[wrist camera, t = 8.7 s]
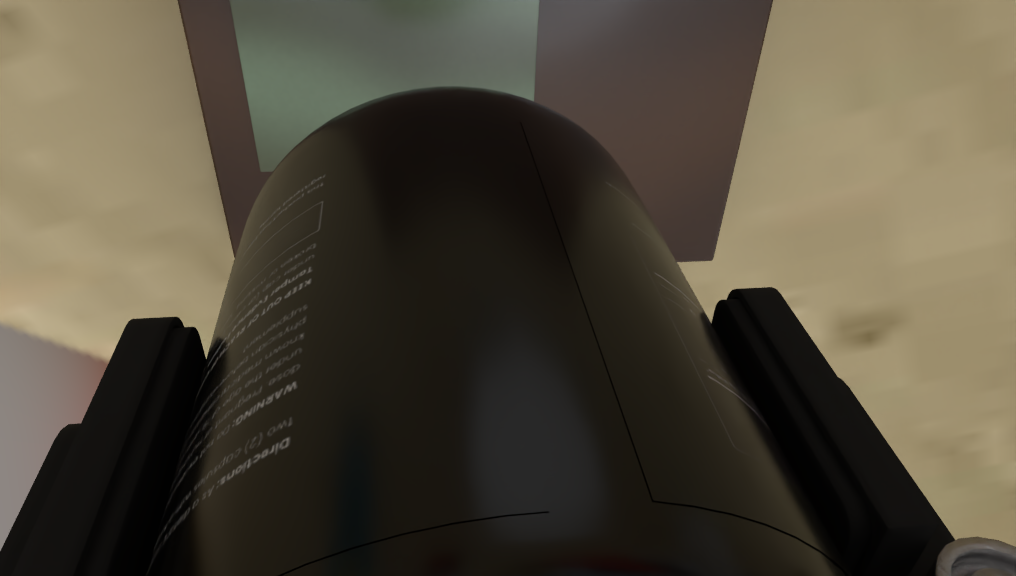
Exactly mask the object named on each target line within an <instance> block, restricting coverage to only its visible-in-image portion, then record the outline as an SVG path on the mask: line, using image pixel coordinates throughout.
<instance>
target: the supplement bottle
mask: <svg viewBox="0 0 1016 576" xmlns="http://www.w3.org/2000/svg"><path fill="white" fill-rule="evenodd" d="M146 576H852V574H851V573H850V571H849V569H848V567H847V565H846V564H845V562H844V560H843V558H842V556H841V555H840V553H839V551H838V549H837V548H836V546H835V544H834V542H833V540H832V539H831V537H830V535H829V533H828V531H827V530H826V528H825V526H824V524H823V522H822V521H821V519H820V517H819V515H818V514H817V512H816V510H815V508H814V506H813V505H812V503H811V501H810V499H809V497H808V496H807V494H806V492H805V490H804V489H803V487H802V485H801V483H800V481H799V480H798V478H797V476H796V474H795V472H794V471H793V469H792V467H791V465H790V464H789V462H788V460H787V458H786V456H785V455H784V453H783V451H782V449H781V447H780V446H779V444H778V442H777V440H776V439H775V437H774V435H773V433H772V431H771V430H770V428H769V426H768V424H767V422H766V421H765V419H764V417H763V415H762V414H761V412H760V410H759V408H758V406H757V405H756V403H755V401H754V399H753V397H752V396H751V394H750V392H749V390H748V389H747V387H746V385H745V383H744V381H743V380H742V378H741V376H740V374H739V372H738V371H737V369H736V367H735V365H734V364H733V362H732V360H731V358H730V356H729V355H728V353H727V351H726V349H725V347H724V346H723V344H722V342H721V340H720V339H719V337H718V335H717V333H716V331H715V330H714V328H713V326H712V324H711V322H710V321H709V319H708V317H707V315H706V314H705V312H704V310H703V308H702V306H701V305H700V303H699V301H698V299H697V297H696V296H695V294H694V292H693V290H692V289H691V287H690V285H689V283H688V281H687V280H686V278H685V276H684V274H683V272H682V271H681V269H680V267H679V265H678V264H677V262H676V260H675V258H674V256H673V255H672V253H671V251H670V249H669V247H668V246H667V244H666V242H665V240H664V239H663V237H662V235H661V233H660V231H659V230H658V228H657V226H656V224H655V222H654V221H653V219H652V217H651V215H650V214H649V212H648V210H647V209H646V207H645V205H644V203H643V202H642V200H641V198H640V197H639V196H638V194H637V192H636V191H635V189H634V187H633V186H632V184H631V182H630V181H629V179H628V177H627V176H626V174H625V173H624V171H623V170H622V169H621V167H620V166H619V165H618V163H617V162H616V161H615V159H614V158H613V157H612V156H611V154H610V153H609V152H608V151H607V150H606V149H605V148H604V147H603V146H602V145H601V144H600V143H599V142H598V141H597V140H596V139H595V138H594V137H593V136H592V135H590V134H589V133H588V132H587V131H585V130H584V129H583V128H582V127H580V126H579V125H577V124H576V123H574V122H573V121H571V120H570V119H568V118H567V117H565V116H563V115H562V114H560V113H558V112H556V111H554V110H552V109H550V108H548V107H546V106H544V105H541V104H539V103H536V102H534V101H531V100H529V99H526V98H523V97H520V96H516V95H513V94H509V93H506V92H501V91H496V90H490V89H485V88H475V87H463V86H438V87H428V88H419V89H412V90H407V91H402V92H397V93H393V94H389V95H386V96H383V97H380V98H376V99H373V100H370V101H368V102H365V103H363V104H360V105H358V106H356V107H353V108H351V109H349V110H347V111H345V112H343V113H342V114H340V115H338V116H336V117H334V118H332V119H331V120H329V121H328V122H326V123H325V124H323V125H322V126H320V127H319V128H317V129H316V130H314V131H313V132H312V133H310V134H309V135H308V136H307V137H306V138H304V139H303V140H302V141H301V142H300V143H298V144H297V145H296V146H295V147H294V148H293V149H292V150H291V151H290V152H289V153H288V154H287V155H286V156H285V157H284V158H283V159H282V161H281V162H280V163H279V164H278V165H277V167H276V168H275V169H274V171H273V172H272V173H271V175H270V176H269V177H268V179H267V181H266V182H265V184H264V186H263V187H262V189H261V191H260V193H259V194H258V196H257V198H256V201H255V203H254V205H253V207H252V210H251V212H250V214H249V216H248V219H247V222H246V225H245V228H244V231H243V235H242V238H241V241H240V245H239V248H238V250H237V253H236V256H235V260H234V263H233V266H232V270H231V273H230V277H229V281H228V284H227V288H226V291H225V295H224V298H223V302H222V306H221V309H220V313H219V316H218V320H217V323H216V327H215V331H214V334H213V338H212V341H211V345H210V348H209V352H208V356H207V359H206V363H205V366H204V370H203V373H202V377H201V381H200V384H199V388H198V391H197V395H196V398H195V402H194V406H193V409H192V413H191V416H190V420H189V424H188V427H187V431H186V434H185V438H184V441H183V445H182V449H181V452H180V456H179V459H178V463H177V466H176V470H175V474H174V477H173V481H172V484H171V488H170V491H169V495H168V499H167V502H166V506H165V509H164V513H163V516H162V520H161V524H160V527H159V531H158V534H157V538H156V542H155V545H154V549H153V552H152V556H151V559H150V563H149V567H148V570H147V574H146Z"/></svg>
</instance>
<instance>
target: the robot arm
mask: <svg viewBox="0 0 1016 576" xmlns="http://www.w3.org/2000/svg"><path fill="white" fill-rule="evenodd" d="M712 326H713V328H714V330H715V331H716V333H717V335H718V337H719V339H720V340H721V342H722V344H723V346H724V347H725V349H726V351H727V353H728V355H729V356H730V358H731V360H732V362H733V364H734V365H735V367H736V369H737V371H738V372H739V374H740V376H741V378H742V380H743V381H744V383H745V385H746V387H747V389H748V390H749V392H750V394H751V396H752V397H753V399H754V401H755V403H756V405H757V406H758V408H759V410H760V412H761V414H762V415H763V417H764V419H765V421H766V422H767V424H768V426H769V428H770V430H771V431H772V433H773V435H774V437H775V439H776V440H777V442H778V444H779V446H780V447H781V449H782V451H783V453H784V455H785V456H786V458H787V460H788V462H789V464H790V465H791V467H792V469H793V471H794V472H795V474H796V476H797V478H798V480H799V481H800V483H801V485H802V487H803V489H804V490H805V492H806V494H807V496H808V497H809V499H810V501H811V503H812V505H813V506H814V508H815V510H816V512H817V514H818V515H819V517H820V519H821V521H822V522H823V524H824V526H825V528H826V530H827V531H828V533H829V535H830V537H831V539H832V540H833V542H834V544H835V546H836V548H837V549H838V551H839V553H840V555H841V556H842V558H843V560H844V562H845V564H846V565H847V567H848V569H849V571H850V573H851V574H852V576H1016V547H1015V546H1012V545H1009V544H1007V543H1004V542H1002V541H999V540H994V539H988V538H982V537H969V538H959V539H957V540H955V539H954V538H953V536H952V535H951V533H950V532H949V530H948V529H947V528H946V526H945V525H944V523H943V522H942V520H941V519H940V517H939V516H938V515H937V513H936V512H935V510H934V509H933V507H932V506H931V505H930V503H929V502H928V500H927V499H926V497H925V496H924V494H923V493H922V492H921V490H920V489H919V487H918V486H917V484H916V483H915V482H914V480H913V479H912V477H911V476H910V474H909V473H908V471H907V470H906V469H905V467H904V466H903V464H902V463H901V461H900V460H899V459H898V457H897V456H896V454H895V453H894V451H893V450H892V448H891V447H890V446H889V444H888V443H887V441H886V440H885V438H884V437H883V436H882V434H881V433H880V431H879V430H878V428H877V427H876V425H875V424H874V423H873V421H872V420H871V418H870V417H869V415H868V414H867V413H866V411H865V410H864V408H863V407H862V405H861V404H860V402H859V401H858V400H857V398H856V397H855V395H854V394H853V392H852V391H851V390H850V388H849V387H848V386H847V385H846V384H845V382H844V381H843V380H842V379H840V378H838V377H837V375H836V374H835V372H834V371H833V369H832V368H831V366H830V365H829V364H828V362H827V361H826V359H825V358H824V356H823V355H822V353H821V352H820V351H819V349H818V348H817V346H816V345H815V343H814V342H813V340H812V339H811V337H810V336H809V335H808V333H807V332H806V330H805V329H804V327H803V326H802V324H801V323H800V322H799V320H798V319H797V317H796V316H795V314H794V313H793V311H792V310H791V308H790V307H789V306H788V304H787V303H786V301H785V300H784V298H783V297H782V295H781V294H780V293H779V292H778V291H777V290H776V289H775V288H772V287H767V288H747V289H734V290H732V291H731V292H730V294H729V295H728V298H727V300H720V301H719V302H718V303H717V305H716V308H715V311H714V316H713V320H712ZM205 363H206V357H205V354H204V350H203V346H202V343H201V339H200V336H199V333H198V331H197V329H196V328H195V327H184V325H183V323H182V321H181V320H180V319H179V318H178V317H163V318H143V319H132V320H130V321H129V322H128V324H127V325H126V327H125V329H124V331H123V333H122V335H121V338H120V340H119V342H118V344H117V346H116V349H115V351H114V353H113V355H112V357H111V359H110V362H109V364H108V366H107V368H106V370H105V372H104V375H103V377H102V379H101V381H100V383H99V386H98V388H97V390H96V392H95V394H94V396H93V399H92V401H91V403H90V405H89V407H88V410H87V412H86V414H85V416H84V418H83V421H82V423H81V424H68V425H67V426H66V427H65V428H63V429H62V430H61V431H60V432H59V434H58V436H57V437H56V438H55V440H54V442H53V444H52V446H51V448H50V450H49V452H48V455H47V456H46V459H45V461H44V463H43V465H42V467H41V469H40V471H39V473H38V475H37V477H36V479H35V481H34V483H33V485H32V487H31V489H30V492H29V494H28V496H27V498H26V500H25V502H24V504H23V506H22V508H21V510H20V512H19V514H18V516H17V518H16V521H15V522H14V524H13V527H12V529H11V531H10V533H9V535H8V537H7V539H6V541H5V543H4V545H3V547H2V549H1V551H0V576H146V574H147V570H148V567H149V563H150V559H151V556H152V552H153V549H154V545H155V542H156V538H157V534H158V531H159V527H160V524H161V520H162V516H163V513H164V509H165V506H166V502H167V499H168V495H169V491H170V488H171V484H172V481H173V477H174V474H175V470H176V466H177V463H178V459H179V456H180V452H181V449H182V445H183V441H184V438H185V434H186V431H187V427H188V424H189V420H190V416H191V413H192V409H193V406H194V402H195V398H196V395H197V391H198V388H199V384H200V381H201V377H202V373H203V370H204V366H205Z"/></svg>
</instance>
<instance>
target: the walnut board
mask: <svg viewBox="0 0 1016 576" xmlns="http://www.w3.org/2000/svg"><path fill="white" fill-rule="evenodd" d="M772 2H773V0H178V4H179V9H180V13H181V18H182V22H183V27H184V31H185V36H186V40H187V45H188V49H189V54H190V59H191V63H192V68H193V72H194V77H195V81H196V86H197V90H198V95H199V99H200V104H201V108H202V113H203V117H204V122H205V127H206V131H207V136H208V140H209V145H210V149H211V154H212V158H213V163H214V167H215V172H216V176H217V181H218V185H219V190H220V195H221V199H222V204H223V208H224V213H225V217H226V222H227V226H228V231H229V235H230V240H231V244H232V249H233V253H234V258H235V256H236V253H237V250H238V248H239V245H240V241H241V238H242V235H243V231H244V228H245V225H246V222H247V219H248V216H249V214H250V212H251V210H252V207H253V205H254V203H255V201H256V198H257V196H258V194H259V193H260V191H261V189H262V187H263V186H264V184H265V182H266V181H267V179H268V177H269V176H270V175H271V173H272V172H273V171H274V169H275V168H276V167H277V165H278V164H279V163H280V162H281V161H282V159H283V158H284V157H285V156H286V155H287V154H288V153H289V152H290V151H291V150H292V149H293V148H294V147H295V146H296V145H297V144H298V143H300V142H301V141H302V140H303V139H304V138H306V137H307V136H308V135H309V134H310V133H312V132H313V131H314V130H316V129H317V128H319V127H320V126H322V125H323V124H325V123H326V122H328V121H329V120H331V119H332V118H334V117H336V116H338V115H340V114H342V113H343V112H345V111H347V110H349V109H351V108H353V107H356V106H358V105H360V104H363V103H365V102H368V101H370V100H373V99H376V98H380V97H383V96H386V95H389V94H393V93H397V92H402V91H407V90H412V89H419V88H428V87H438V86H463V87H475V88H485V89H490V90H496V91H501V92H506V93H509V94H513V95H516V96H520V97H523V98H526V99H529V100H531V101H534V102H536V103H539V104H541V105H544V106H546V107H548V108H550V109H552V110H554V111H556V112H558V113H560V114H562V115H563V116H565V117H567V118H568V119H570V120H571V121H573V122H574V123H576V124H577V125H579V126H580V127H582V128H583V129H584V130H585V131H587V132H588V133H589V134H590V135H592V136H593V137H594V138H595V139H596V140H597V141H598V142H599V143H600V144H601V145H602V146H603V147H604V148H605V149H606V150H607V151H608V152H609V153H610V154H611V156H612V157H613V158H614V159H615V161H616V162H617V163H618V165H619V166H620V167H621V169H622V170H623V171H624V173H625V174H626V176H627V177H628V179H629V181H630V182H631V184H632V186H633V187H634V189H635V191H636V192H637V194H638V196H639V197H640V198H641V200H642V202H643V203H644V205H645V207H646V209H647V210H648V212H649V214H650V215H651V217H652V219H653V221H654V222H655V224H656V226H657V228H658V230H659V231H660V233H661V235H662V237H663V239H664V240H665V242H666V244H667V246H668V247H669V249H670V251H671V253H672V255H673V256H674V258H675V260H676V262H691V261H712V260H713V257H714V253H715V249H716V244H717V240H718V236H719V231H720V227H721V223H722V218H723V214H724V210H725V206H726V201H727V197H728V193H729V188H730V184H731V180H732V175H733V171H734V167H735V162H736V158H737V154H738V149H739V145H740V141H741V136H742V132H743V128H744V123H745V119H746V115H747V110H748V106H749V102H750V98H751V93H752V89H753V85H754V80H755V76H756V72H757V67H758V63H759V59H760V54H761V50H762V46H763V41H764V37H765V33H766V28H767V24H768V20H769V15H770V11H771V7H772Z"/></svg>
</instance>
